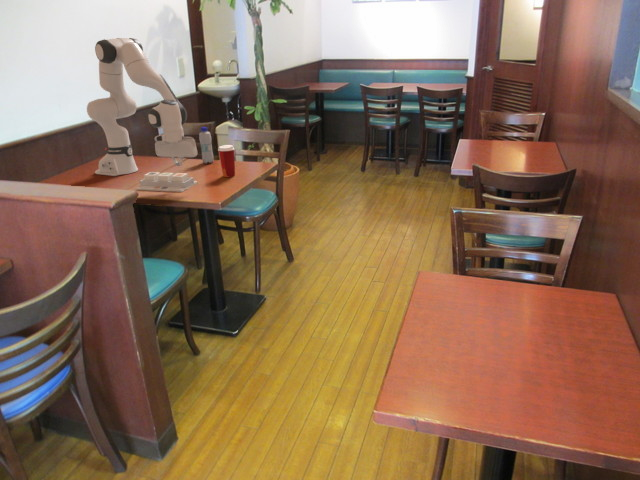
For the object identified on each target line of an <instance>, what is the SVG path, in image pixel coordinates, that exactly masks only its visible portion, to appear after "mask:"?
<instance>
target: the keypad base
mask: <svg viewBox="0 0 640 480" xmlns="http://www.w3.org/2000/svg"><path fill="white" fill-rule="evenodd" d="M197 184H198V180H195V178H194V177H189V180H187V181H185V182H173V181H172V180H171V181H169V182H166V181H159V180H156V181H145V178H143V179H140V180H139V185H140V186H138V187H136V190H137V191H154V192H155V191H157V192H174V193H175V192H176V193H183V192H184V191H187V190H188V189H190V188H192V187H193V186H195V185H197Z"/></svg>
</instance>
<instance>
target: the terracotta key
mask: <svg viewBox="0 0 640 480" xmlns="http://www.w3.org/2000/svg"><path fill="white" fill-rule="evenodd" d="M189 178H190V177H189V173H185V172H184V173H181V172H176V173H174V175H173V176H172V181H173V182H185V181H187V180H189Z"/></svg>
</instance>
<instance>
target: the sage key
mask: <svg viewBox="0 0 640 480" xmlns="http://www.w3.org/2000/svg"><path fill="white" fill-rule="evenodd" d="M173 175H175V173H174V172H162V173H161V174H160V175H158V180H159V181H166V182H169V181H171V180H172V176H173Z"/></svg>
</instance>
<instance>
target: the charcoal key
mask: <svg viewBox="0 0 640 480" xmlns="http://www.w3.org/2000/svg"><path fill="white" fill-rule="evenodd" d="M160 174H162V173H161V172H159V171H156V172H155V171H149V172H147V173H146V174H143V176H144V177H143V179H145V181H156V180H158V175H160Z"/></svg>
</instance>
